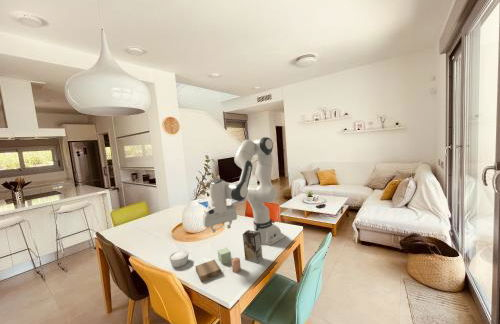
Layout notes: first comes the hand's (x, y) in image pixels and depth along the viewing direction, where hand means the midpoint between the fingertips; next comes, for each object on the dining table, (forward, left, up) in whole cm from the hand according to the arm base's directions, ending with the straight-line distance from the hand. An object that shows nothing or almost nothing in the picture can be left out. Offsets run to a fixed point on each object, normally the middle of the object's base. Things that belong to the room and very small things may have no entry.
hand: (221, 230), depth 124 cm
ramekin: (+24, -14, -19) cm, 34 cm away
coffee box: (-15, +9, -19) cm, 26 cm away
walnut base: (+12, +6, -19) cm, 23 cm away
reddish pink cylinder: (-2, +13, -19) cm, 23 cm away
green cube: (0, 0, -19) cm, 19 cm away
